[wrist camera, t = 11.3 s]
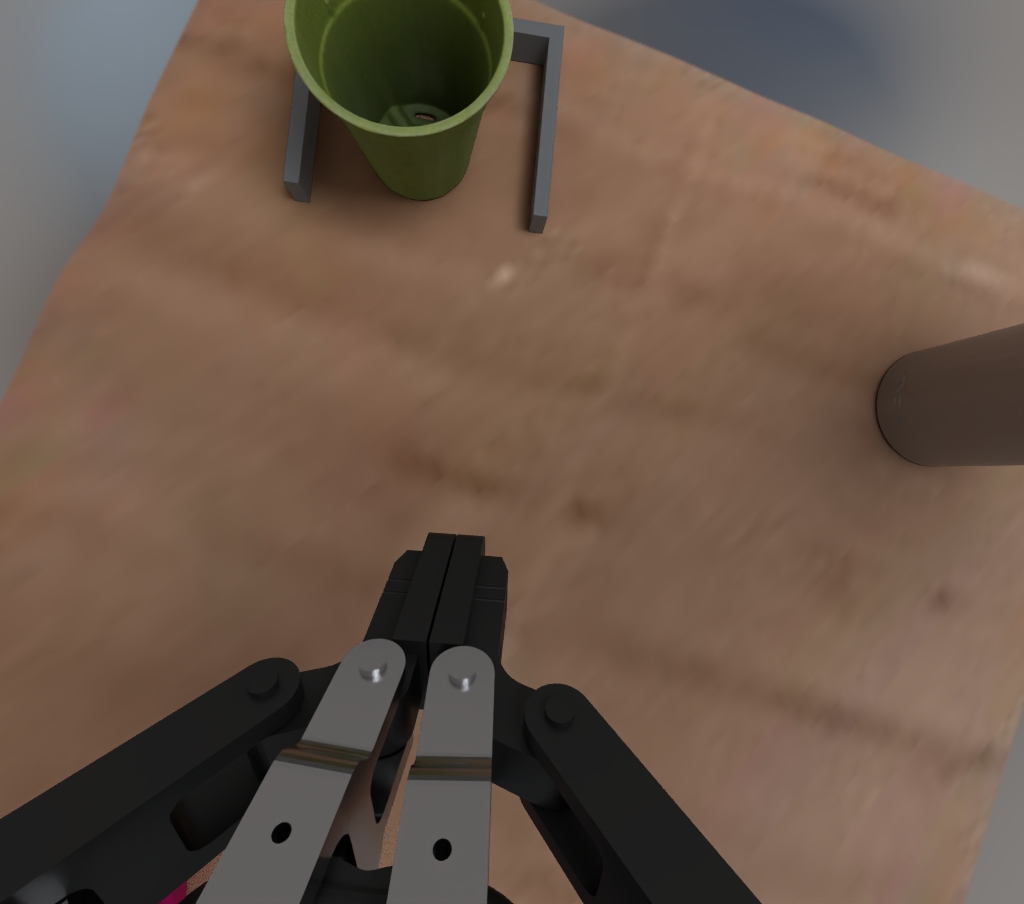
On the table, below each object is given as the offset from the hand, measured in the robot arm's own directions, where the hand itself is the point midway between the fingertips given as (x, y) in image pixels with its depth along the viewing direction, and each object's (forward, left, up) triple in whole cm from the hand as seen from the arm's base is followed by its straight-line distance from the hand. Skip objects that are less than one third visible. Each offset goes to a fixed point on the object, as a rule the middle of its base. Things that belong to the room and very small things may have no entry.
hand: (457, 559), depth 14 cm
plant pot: (+6, -25, -23) cm, 35 cm away
